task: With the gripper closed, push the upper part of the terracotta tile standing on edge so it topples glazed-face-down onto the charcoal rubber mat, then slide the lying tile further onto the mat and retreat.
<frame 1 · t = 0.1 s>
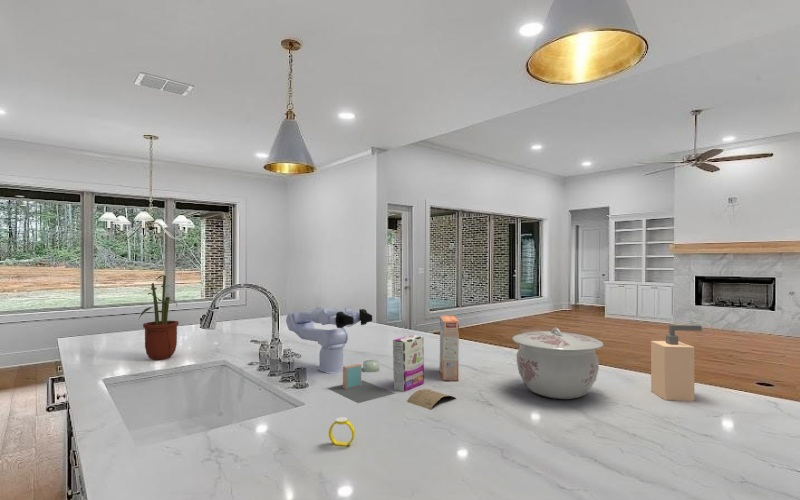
hand: (362, 319, 149), 22 cm above the worktop, tool horizontal, fingers open, 7 cm apart
chamber pot: (557, 393, 139), on the worktop
potted plant: (155, 358, 183), on the worktop
cracker box: (449, 376, 157), on the worktop
mat: (360, 391, 139), on the worktop
candy bar box: (408, 387, 144), on the worktop
pale green dome: (371, 371, 164), on the worktop
soap dispenser: (679, 396, 135), on the worktop
watch: (341, 445, 101), on the worktop
clay tablet: (431, 402, 131), on the worktop
tile: (352, 387, 143), resting on mat
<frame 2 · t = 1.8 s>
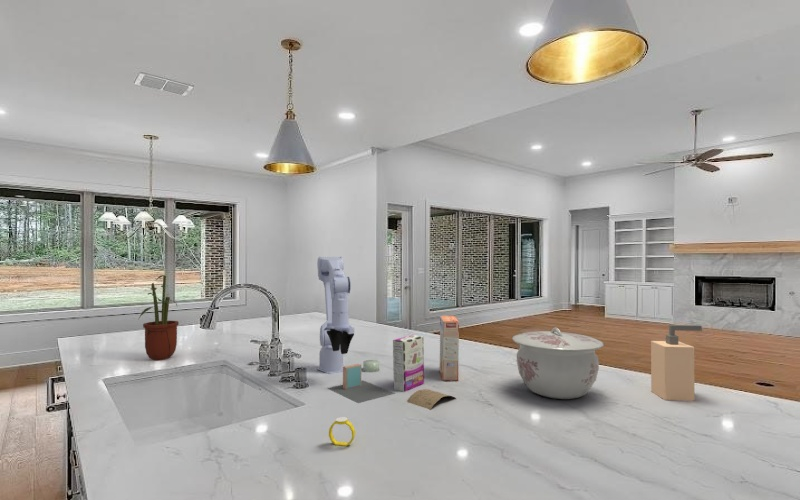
hand: (340, 352, 149), 10 cm above the worktop, tool pointing down, fingers open, 5 cm apart
nothing on the worktop moved.
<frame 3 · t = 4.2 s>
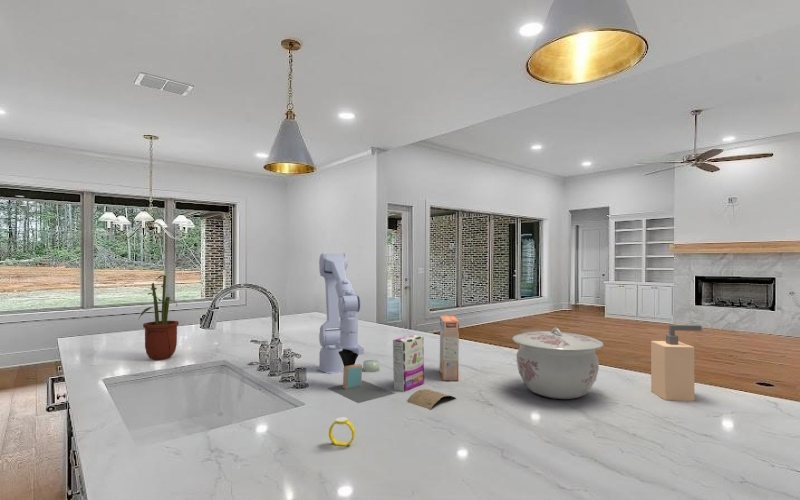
hand: (348, 372, 145), 5 cm above the worktop, tool pointing down, fingers closed
tile: (352, 386, 143), resting on mat, touching gripper
everything else where it was.
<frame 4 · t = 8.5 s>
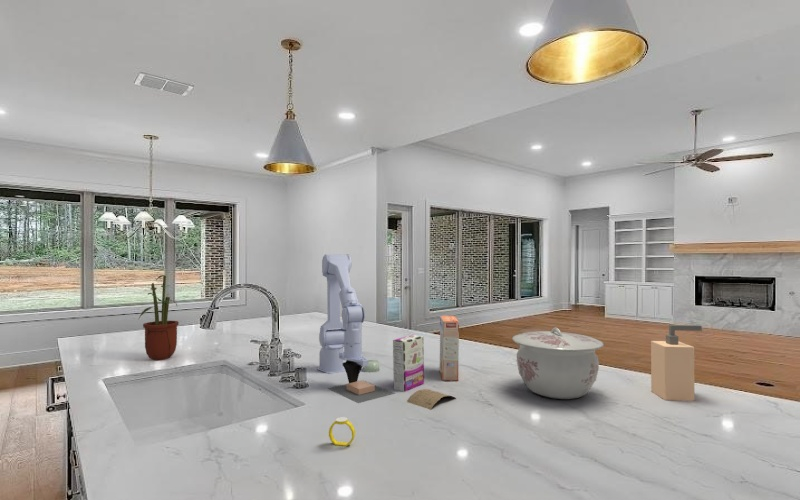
hand: (352, 384, 143), 1 cm above the worktop, tool pointing down, fingers closed
tile: (354, 384, 142), point 1 cm above the worktop, tilted 90°, touching gripper, mat
everything else where it was.
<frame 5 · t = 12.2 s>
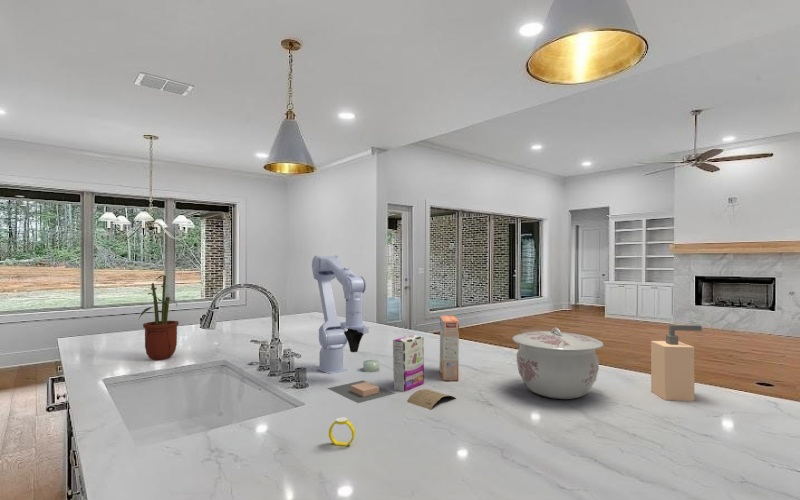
hand: (354, 351, 149), 10 cm above the worktop, tool pointing down, fingers closed
tile: (358, 386, 140), point 1 cm above the worktop, tilted 90°, touching mat
everything else where it was.
at the end: tile tilted 90°; tile inside the target area (2.7 cm from its centre), point 1.3 cm above the worktop; tile touching mat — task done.
